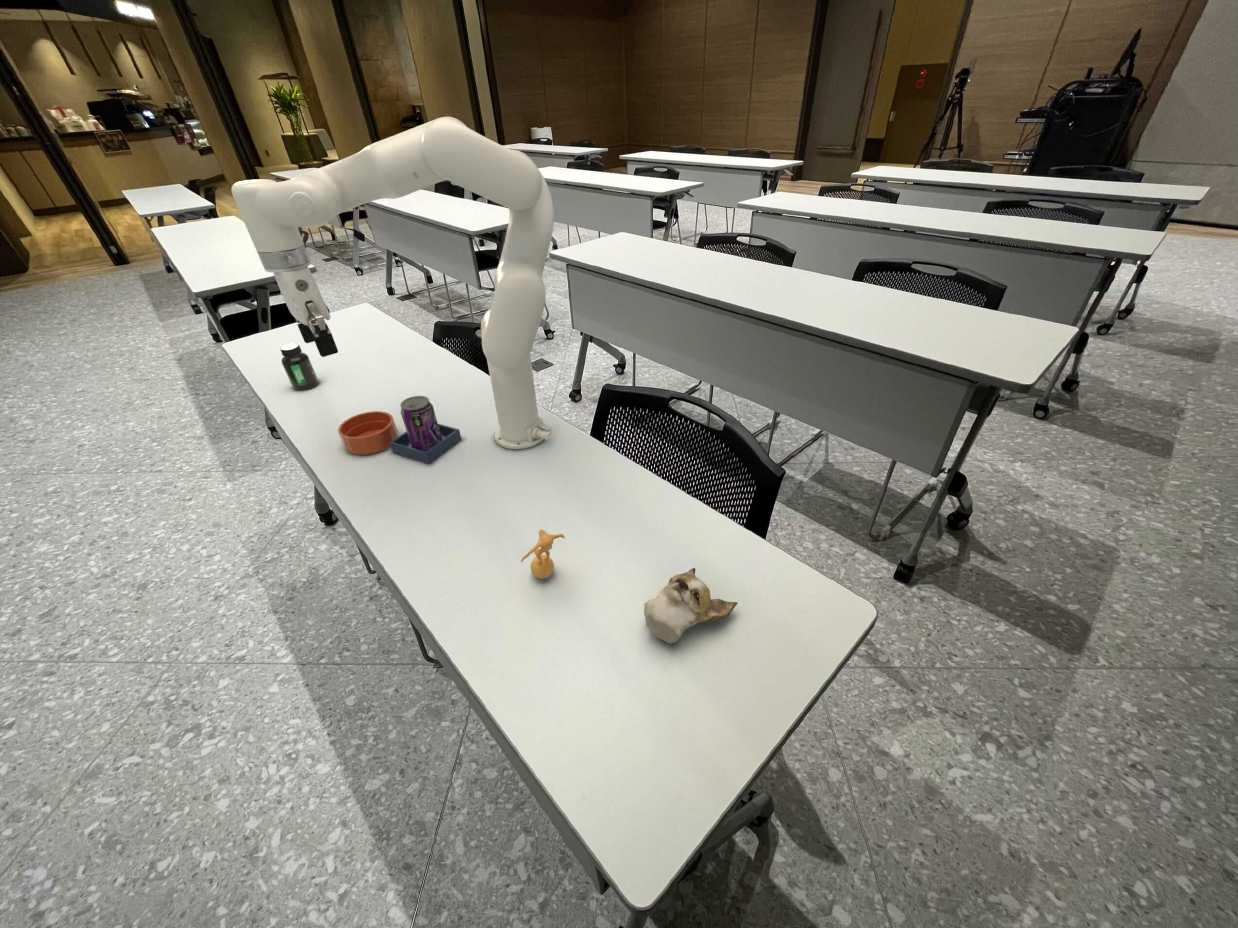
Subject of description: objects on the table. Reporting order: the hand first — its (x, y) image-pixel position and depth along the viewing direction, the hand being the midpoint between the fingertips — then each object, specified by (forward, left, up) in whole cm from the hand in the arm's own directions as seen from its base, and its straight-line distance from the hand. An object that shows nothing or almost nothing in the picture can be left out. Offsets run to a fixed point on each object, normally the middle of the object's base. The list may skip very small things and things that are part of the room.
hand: (321, 347), depth 101 cm
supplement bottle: (+46, -20, -28) cm, 57 cm away
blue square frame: (-10, -10, -27) cm, 31 cm away
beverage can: (-10, -10, -28) cm, 31 cm away
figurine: (-58, +13, -28) cm, 66 cm away
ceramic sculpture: (-82, +11, -28) cm, 87 cm away
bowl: (+4, -6, -27) cm, 28 cm away
